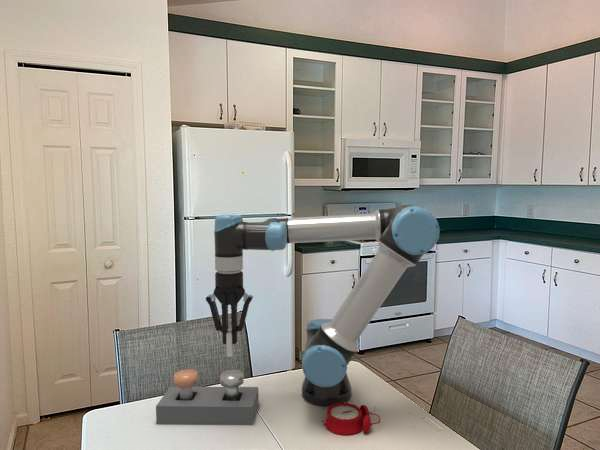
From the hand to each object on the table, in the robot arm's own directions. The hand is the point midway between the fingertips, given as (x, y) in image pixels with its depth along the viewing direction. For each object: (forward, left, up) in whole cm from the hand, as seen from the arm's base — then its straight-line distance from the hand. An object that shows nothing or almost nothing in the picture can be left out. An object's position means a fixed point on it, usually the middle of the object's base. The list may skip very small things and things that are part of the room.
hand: (230, 355), depth 124 cm
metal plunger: (0, 0, -13) cm, 13 cm away
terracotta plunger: (+13, 0, -13) cm, 18 cm away
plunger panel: (+6, 0, -17) cm, 18 cm away
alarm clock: (-33, +6, -17) cm, 38 cm away
